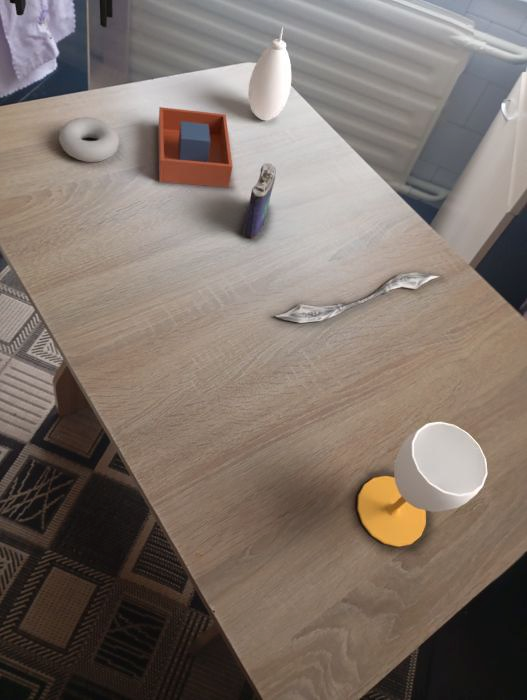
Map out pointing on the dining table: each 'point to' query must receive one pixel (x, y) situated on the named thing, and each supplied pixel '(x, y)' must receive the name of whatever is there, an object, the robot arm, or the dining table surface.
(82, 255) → the dining table surface
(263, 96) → the sauce bottle
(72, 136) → the donut
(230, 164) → the bin
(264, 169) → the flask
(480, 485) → the cup
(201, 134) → the block
